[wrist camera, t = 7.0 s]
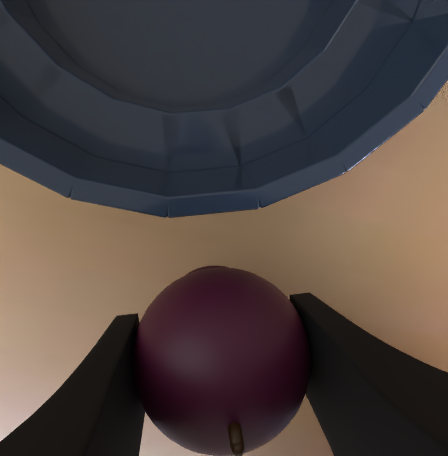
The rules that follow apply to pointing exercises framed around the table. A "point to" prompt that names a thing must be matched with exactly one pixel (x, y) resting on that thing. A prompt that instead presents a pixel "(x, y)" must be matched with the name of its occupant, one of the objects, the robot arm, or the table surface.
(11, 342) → the table surface
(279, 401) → the plum
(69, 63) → the bowl
